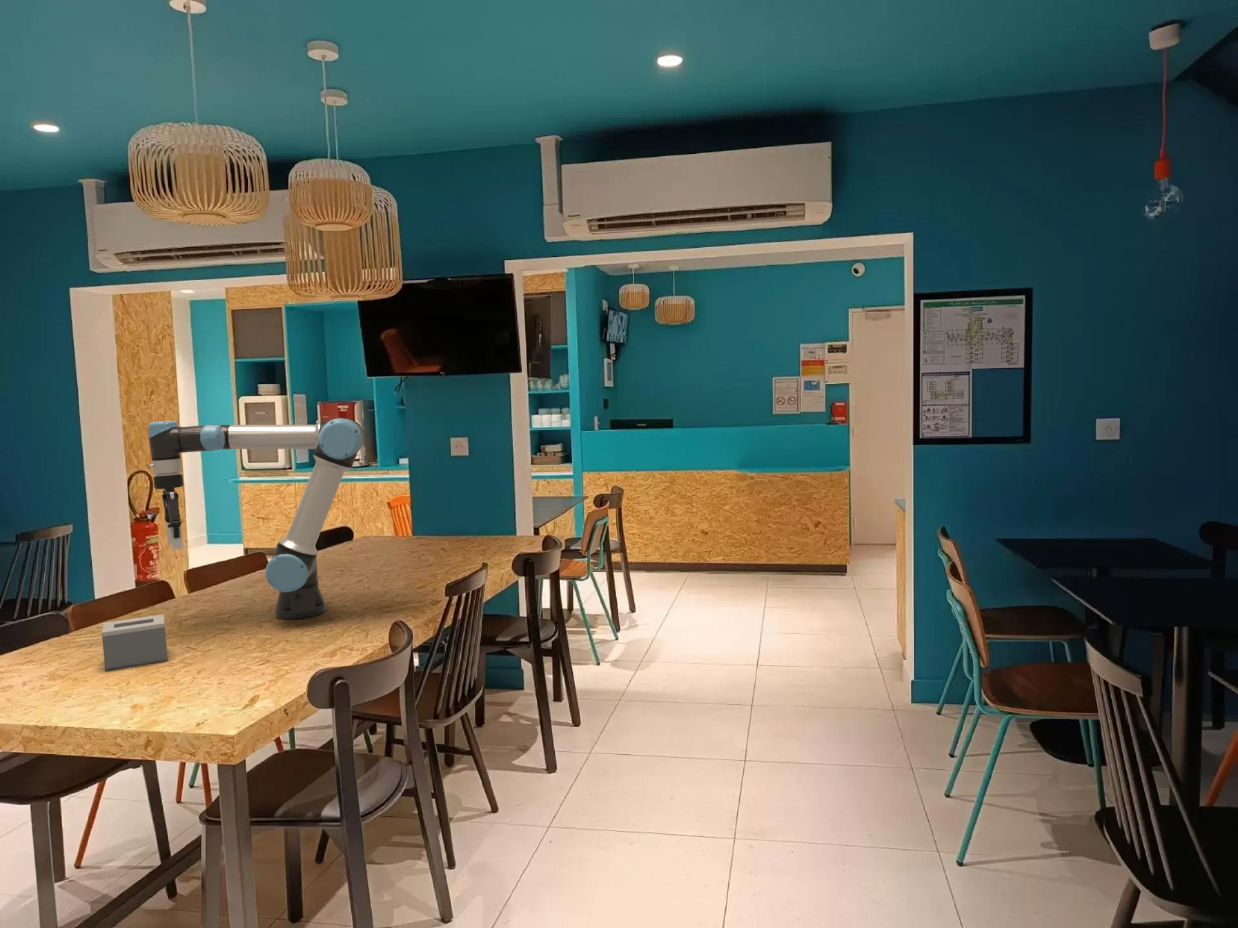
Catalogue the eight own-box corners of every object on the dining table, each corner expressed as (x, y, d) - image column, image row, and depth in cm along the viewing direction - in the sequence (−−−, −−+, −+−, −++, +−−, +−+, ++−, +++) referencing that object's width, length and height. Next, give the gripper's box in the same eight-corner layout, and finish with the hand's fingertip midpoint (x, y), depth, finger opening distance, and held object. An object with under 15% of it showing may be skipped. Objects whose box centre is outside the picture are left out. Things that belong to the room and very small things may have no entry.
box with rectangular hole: (166, 650, 232) (163, 614, 231) (167, 660, 221) (164, 623, 221) (107, 659, 225) (103, 622, 224) (105, 671, 215) (101, 632, 214)
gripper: (150, 474, 254) (157, 543, 256) (156, 477, 233) (164, 553, 235) (178, 471, 258) (185, 540, 260) (186, 474, 237) (194, 549, 239)
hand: (175, 546), depth 247 cm, fingers open, 13 cm apart
